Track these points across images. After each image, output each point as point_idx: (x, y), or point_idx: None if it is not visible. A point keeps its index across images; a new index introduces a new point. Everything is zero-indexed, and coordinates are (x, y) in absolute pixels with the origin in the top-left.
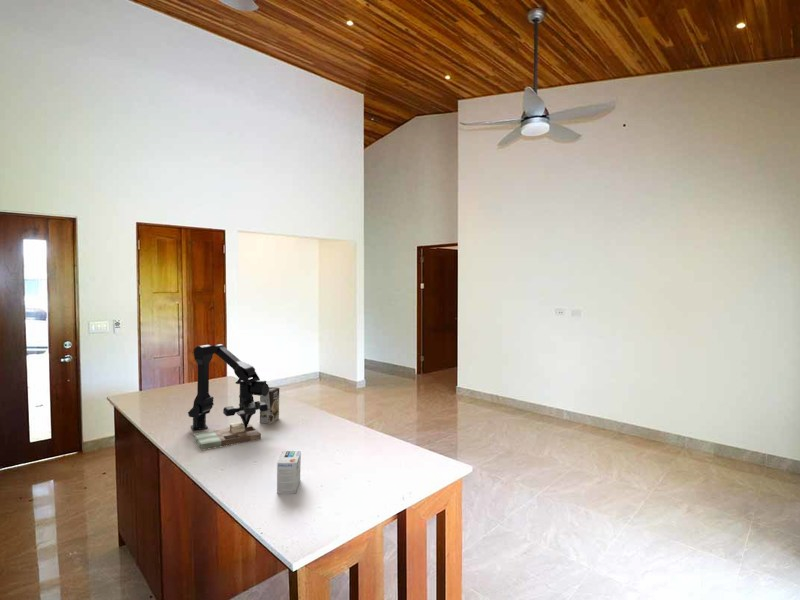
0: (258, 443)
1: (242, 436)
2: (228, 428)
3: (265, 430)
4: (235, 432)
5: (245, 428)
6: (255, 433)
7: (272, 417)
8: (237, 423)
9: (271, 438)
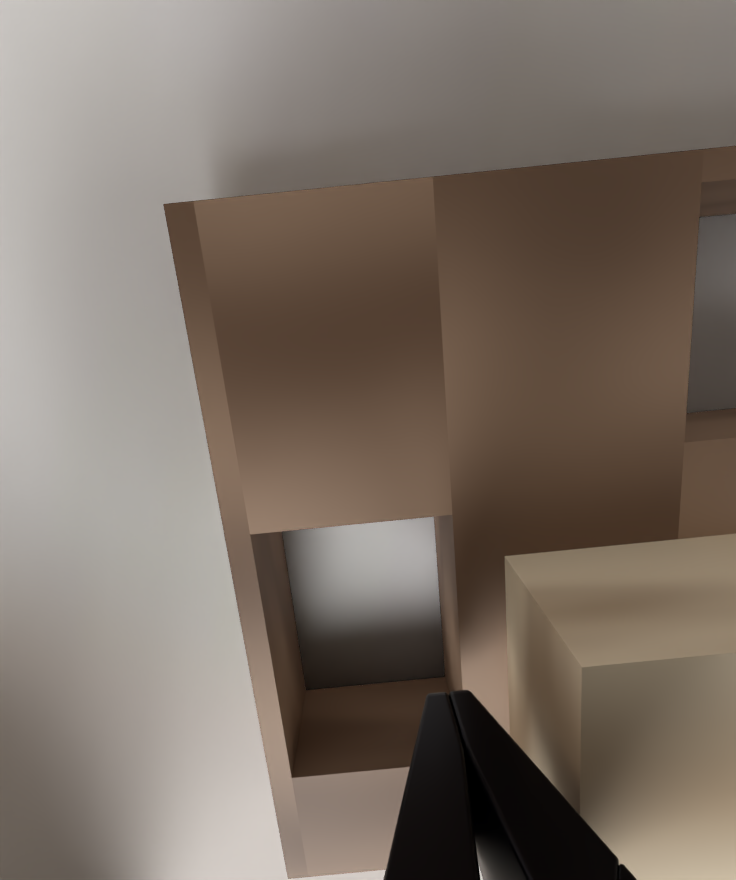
0: (297, 4)
1: (635, 209)
2: None
3: (86, 665)
4: (697, 542)
5: None
6: (293, 296)
7: None
8: (713, 853)
9: (7, 204)
